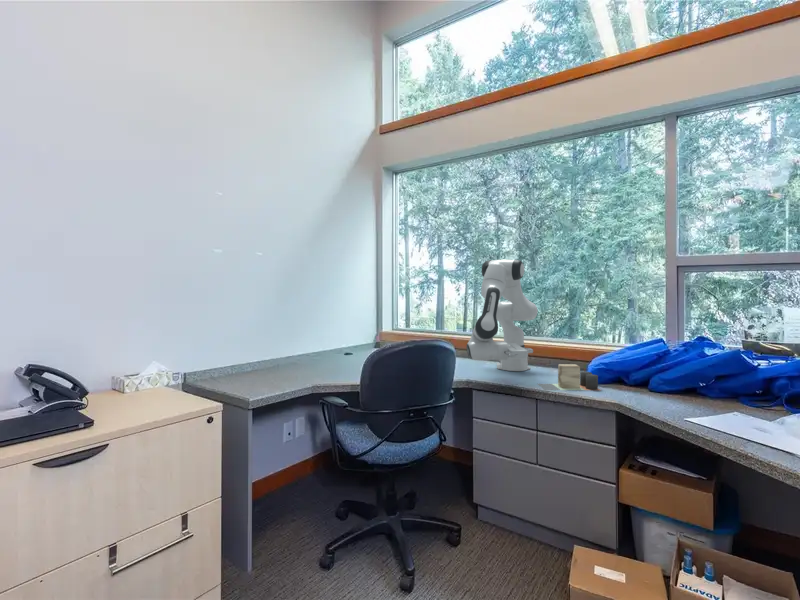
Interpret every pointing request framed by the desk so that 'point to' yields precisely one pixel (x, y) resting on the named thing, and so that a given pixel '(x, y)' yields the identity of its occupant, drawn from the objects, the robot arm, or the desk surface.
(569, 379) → the birch block
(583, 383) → the post
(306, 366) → the desk surface
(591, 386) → the post
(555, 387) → the lane mat
